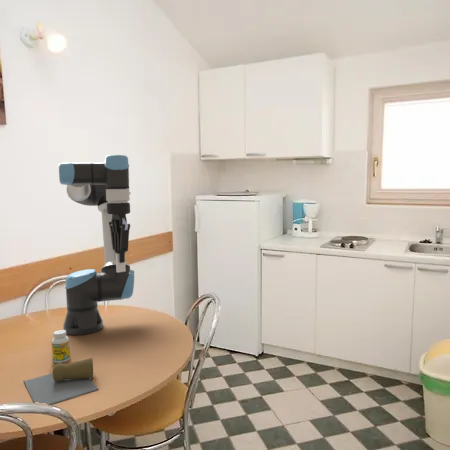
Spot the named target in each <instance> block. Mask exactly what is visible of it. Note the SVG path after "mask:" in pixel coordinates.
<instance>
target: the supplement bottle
mask: <svg viewBox="0 0 450 450" xmlns="http://www.w3.org/2000/svg"><path fill="white" fill-rule="evenodd" d="M52 335H53V338H52V339H51V355H52V362H54V363H56V364H59V363H65V362H68V361H69V360H70V359H71V350H70V348H71V347H70V338H69V336H67V334H66V330H63V329H60V330H55V331H53V334H52Z"/></svg>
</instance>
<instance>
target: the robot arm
mask: <svg viewBox="0 0 450 450" xmlns="http://www.w3.org/2000/svg"><path fill="white" fill-rule="evenodd" d="M129 167H130V164H129V158H128V156H127V155H124V154H109V155H108V154H107V155H106V156H105V157H104V162H71V161H70V162H69V161H68V162H61V163H59V164H58V178H59V183H60V185H62V186H63V185H64V186H66V194H67V196H68V198H69V199H71V200H72V201H73V202H75V203H77V204H80V205H82V206H83V205H84V206H88V207H89V206H90V207H92V206H93V207H94V206H95V207H97V210H98V211H99V212H100V213H101V221H102V222H101V223H102V225H101V226H102V239H103V241H102V242H103V254H104V255H103V256H104V265H102V267H101V272H97V270H96V269H94V268H93V269H92V268H89V269H82V270H78V271H73V272H71V273H70V274H68V275H67V276H66V278H65V286H64V288H65V290H66V291H65V292H66V293H65V295H66V297H65V298H66V314H65V318H64V321H63V326H62V327H63V329H62V330H66V335H72V336H81V335H88V334H89V335H90V334H93V333H96V332H98V331H101V330H102V329H103V327H104V321H103V318H102V315H101V313H100V309H99V308H98V303H100V302H110V301H122V300H127V299H130V298H132V296H133V294H134V288H135V270H133V269H131V265H130V264H128V263H127V260H126V252H128V251H129V239H130V229H131V224H130V223H128V220H127V216H126V215H128V214H131V202H129V201H130V195H131V191H130V171H129V170H130V169H129Z"/></svg>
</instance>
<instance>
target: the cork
mask: <svg viewBox="0 0 450 450" xmlns="http://www.w3.org/2000/svg"><path fill="white" fill-rule="evenodd" d="M52 373H53V379H54V381H55V382H61V381H63V380H65V379H90V380H93V379H94V361H93V357H90V358H86V359H85V358H84V359H81V360H78V361H74V362H70V363H67V364H65V363H64V362H62V363H56V364H55V365H54V366H53V369H52Z"/></svg>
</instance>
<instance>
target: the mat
mask: <svg viewBox="0 0 450 450" xmlns="http://www.w3.org/2000/svg"><path fill="white" fill-rule="evenodd" d="M23 383H24V385H25V387H26V389H27V391H28V393H29V395H30V397H31V399H32V401H33V403H34V402H39V403H46V404H51V405H53V404H57V403H61V402H64V401H67V400H71V399H73V398H76V397H80V396H83V395H85V394H90V393H92V392H95V391H98V390H99V388H98V387H97V385H96V384H95V383H94V382H93V380H92V379H65V380H63V381H61V382H55V381H54V379H53V372H52V373H48V374H45V375H41V376H38V377H33V378H30V379H26V380H23Z"/></svg>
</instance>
